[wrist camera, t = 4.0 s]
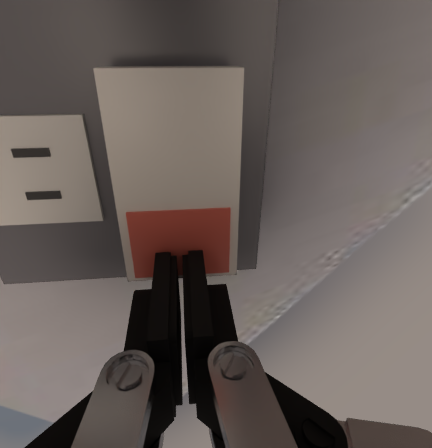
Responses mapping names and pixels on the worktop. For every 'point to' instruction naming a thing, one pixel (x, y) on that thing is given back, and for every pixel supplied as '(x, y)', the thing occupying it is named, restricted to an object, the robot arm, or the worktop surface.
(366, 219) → the worktop surface
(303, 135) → the worktop surface
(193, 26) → the rocker switch panel
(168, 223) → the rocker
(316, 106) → the worktop surface
